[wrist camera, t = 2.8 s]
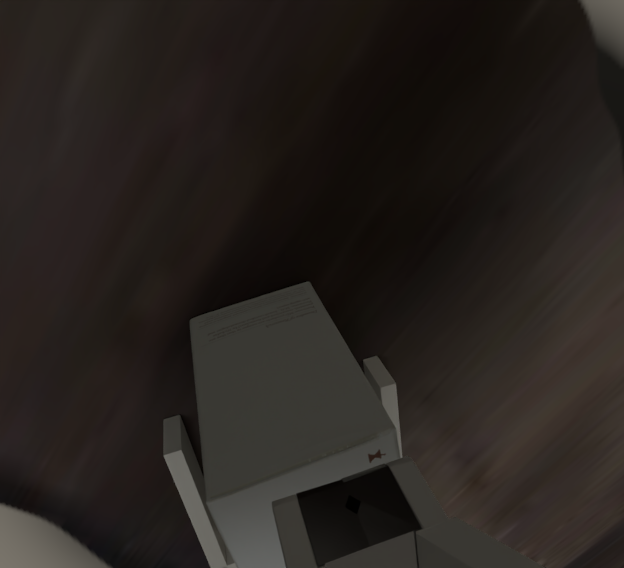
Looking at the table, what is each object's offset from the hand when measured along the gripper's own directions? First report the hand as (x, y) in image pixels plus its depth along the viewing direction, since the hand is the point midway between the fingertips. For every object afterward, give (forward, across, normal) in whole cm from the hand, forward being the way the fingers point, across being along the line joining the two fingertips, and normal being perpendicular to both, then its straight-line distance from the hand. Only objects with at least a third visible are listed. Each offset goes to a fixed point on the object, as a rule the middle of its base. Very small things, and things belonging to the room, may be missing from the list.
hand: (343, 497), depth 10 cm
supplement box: (+18, 0, +8) cm, 20 cm away
